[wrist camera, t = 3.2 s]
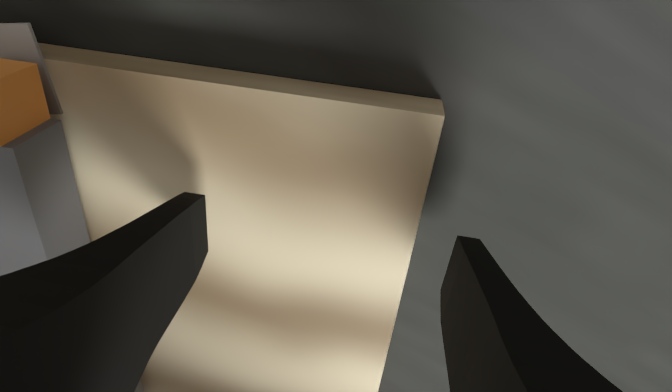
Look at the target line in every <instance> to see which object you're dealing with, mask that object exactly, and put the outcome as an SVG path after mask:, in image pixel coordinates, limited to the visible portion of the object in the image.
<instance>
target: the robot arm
mask: <svg viewBox="0 0 672 392" xmlns="http://www.w3.org/2000/svg"><path fill="white" fill-rule="evenodd" d="M207 253H208V236H207V218H206V201H205V195H202V194H196V193H189V192H183V193H181V194H179V195H177V196H175V197H173V198H172V199H170V200H168V201H166V202H165V203H163V204H161V205H159V206H158V207H156V208H154V209H153V210H151V211H149V212H147V213H146V214H144V215H142V216H140V217H138V218H137V219H135V220H133V221H131V222H130V223H128V224H126V225H124V226H122V227H120V228H118V229H116V230H114V231H112V232H110V233H108V234H106V235H104V236H102V237H100V238H98V239H96V240H94V241H92V242H90V243H88V244H86V245H83V246H81V247H79V248H77V249H74V250H72V251H69V252H67V253H65V254H62V255H60V256H57V257H55V258H52V259H49V260H47V261H44V262H41V263H38V264H35V265H32V266H29V267H26V268H23V269H20V270H17V271H14V272H11V273H8V274H5V275H1V276H0V392H135V389H136V387H137V385H138V383H139V381H140V379H141V376H142V374H143V372H144V370H145V368H146V366H147V364H148V362H149V359H150V357H151V355H152V354H153V352H154V350H155V348H156V346H157V344H158V343H159V341H160V339H161V338H162V336H163V334H164V333H165V331H166V329H167V328H168V326H169V324H170V323H171V321H172V320H173V318H174V316H175V315H176V313H177V311H178V310H179V308H180V306H181V305H182V303H183V301H184V300H185V298H186V296H187V295H188V293H189V291H190V290H191V288H192V286H193V284H194V283H195V281H196V279H197V277H198V275H199V272H200V270H201V268H202V265H203V263H204V260H205V258H206V256H207ZM441 327H442V335H443V343H444V350H445V357H446V364H447V371H448V378H449V385H450V392H622V391H621V390H620V389H619V388H617V387H616V386H615V385H613V384H612V383H611V382H610V381H608V380H607V379H606V378H605V377H603V376H602V375H601V374H600V373H599V372H598V371H596V370H595V369H594V368H593V367H592V366H590V365H589V364H588V363H587V362H586V361H585V360H583V359H582V358H581V357H580V356H579V355H578V354H577V353H576V352H575V351H573V350H572V349H571V348H570V347H569V346H568V345H567V344H566V343H565V342H564V341H563V340H562V339H561V338H560V337H559V336H558V335H557V334H556V333H555V332H554V331H553V330H552V329H551V328H550V327H549V326H548V325H547V324H546V323H545V322H544V321H543V320H542V319H541V317H540V316H539V315H538V314H537V313H536V312H535V311H534V309H533V308H532V307H531V306H530V305H529V304H528V303H527V301H526V300H525V299H524V298H523V297H522V295H521V294H520V293H519V292H518V290H517V289H516V288H515V287H514V285H513V284H512V283H511V281H510V280H509V279H508V278H507V276H506V275H505V274H504V272H503V271H502V269H501V268H500V267H499V265H498V264H497V263H496V261H495V260H494V258H493V257H492V256H491V254H490V253H489V251H488V250H487V249H486V247H485V246H484V244H483V243H482V242H481V240H480V239H476V238H470V237H463V236H457V239H456V242H455V245H454V248H453V252H452V255H451V258H450V261H449V264H448V268H447V271H446V274H445V277H444V281H443V284H442V287H441Z"/></svg>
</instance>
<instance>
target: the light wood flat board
mask: <svg viewBox="0 0 672 392" xmlns="http://www.w3.org/2000/svg"><path fill="white" fill-rule="evenodd" d="M0 58H3V59H10V60H17V61H24V62H30V63H37V66H38V70H39V74H40V78H41V82H42V86H43V90H44V94H45V98H46V102H47V106H48V110H49V114H50V118H51V119H58V120H61V121H62V126H63V130H64V134H65V138H66V142H67V147H68V151H69V155H70V159H71V163H72V168H73V172H74V176H75V180H76V184H77V189H78V193H79V197H80V201H81V206H82V210H83V214H84V218H85V222H86V227H87V231H88V235H89V239H90V242H92V241H94V240H96V239H98V238H100V237H102V236H104V235H106V234H108V233H110V232H112V231H114V230H116V229H118V228H120V227H122V226H124V225H126V224H128V223H130V222H131V221H133V220H135V219H137V218H138V217H140V216H142V215H144V214H146V213H147V212H149V211H151V210H153V209H154V208H156V207H158V206H159V205H161V204H163V203H165V202H166V201H168V200H170V199H172V198H173V197H175V196H177V195H179V194H181V193H183V192H189V193H196V194H202V195H205V201H206V218H207V236H208V253H207V256H206V258H205V260H204V263H203V265H202V268H201V270H200V272H199V275H198V277H197V279H196V281H195V283H194V284H193V286H192V288H191V290H190V291H189V293H188V295H187V296H186V298H185V300H184V301H183V303H182V305H181V306H180V308H179V310H178V311H177V313H176V315H175V316H174V318H173V320H172V321H171V323H170V324H169V326H168V328H167V329H166V331H165V333H164V334H163V336H162V338H161V339H160V341H159V343H158V344H157V346H156V348H155V350H154V352H153V354H152V355H151V357H150V359H149V362H148V364H147V366H146V368H145V370H144V372H143V374H142V376H141V379H140V381H141V383H142V385H143V388H144V392H378V389H379V385H380V381H381V377H382V373H383V368H384V364H385V360H386V356H387V352H388V348H389V344H390V340H391V336H392V332H393V327H394V323H395V319H396V315H397V311H398V307H399V303H400V299H401V295H402V290H403V286H404V282H405V278H406V274H407V270H408V266H409V262H410V258H411V254H412V249H413V245H414V241H415V237H416V233H417V229H418V225H419V221H420V217H421V212H422V208H423V204H424V200H425V196H426V192H427V188H428V184H429V180H430V176H431V171H432V167H433V163H434V159H435V155H436V151H437V147H438V143H439V139H440V134H441V130H442V126H443V122H444V118H445V114H444V109H443V104H442V100H440V99H433V98H426V97H419V96H412V95H405V94H398V93H391V92H383V91H376V90H369V89H362V88H355V87H348V86H341V85H334V84H327V83H320V82H313V81H306V80H299V79H291V78H284V77H277V76H270V75H263V74H256V73H249V72H242V71H235V70H228V69H221V68H214V67H206V66H199V65H192V64H185V63H178V62H171V61H164V60H157V59H150V58H143V57H136V56H129V55H122V54H114V53H107V52H100V51H93V50H86V49H79V48H72V47H65V46H58V45H51V44H44V43H38V42H37V40H36V37H35V34H34V31H33V29H32V26H31V23H0Z"/></svg>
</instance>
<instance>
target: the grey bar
mask: <svg viewBox="0 0 672 392" xmlns="http://www.w3.org/2000/svg"><path fill="white" fill-rule="evenodd" d="M88 243H90V239H89V235H88V231H87V227H86V222H85V218H84V214H83V210H82V206H81V201H80V197H79V193H78V189H77V184H76V180H75V176H74V172H73V168H72V163H71V159H70V155H69V151H68V147H67V142H66V138H65V134H64V130H63V126H62V121H61V120H58V119H51V118H50V114H49V110H48V106H47V102H46V98H45V94H44V90H43V86H42V82H41V78H40V74H39V70H38V66H37V63H30V62H24V61H17V60H10V59H3V58H0V276H1V275H5V274H8V273H11V272H14V271H17V270H20V269H23V268H26V267H29V266H32V265H35V264H38V263H41V262H44V261H47V260H49V259H52V258H55V257H57V256H60V255H62V254H65V253H67V252H69V251H72V250H74V249H77V248H79V247H81V246H83V245H86V244H88ZM135 392H144V388H143V385H142V383H141V381H139V383H138V385H137V387H136V389H135Z"/></svg>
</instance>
